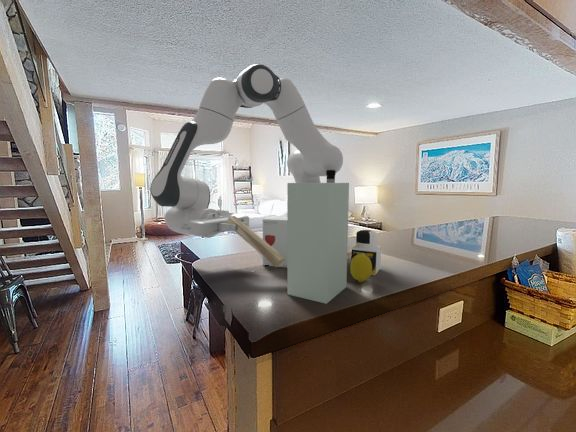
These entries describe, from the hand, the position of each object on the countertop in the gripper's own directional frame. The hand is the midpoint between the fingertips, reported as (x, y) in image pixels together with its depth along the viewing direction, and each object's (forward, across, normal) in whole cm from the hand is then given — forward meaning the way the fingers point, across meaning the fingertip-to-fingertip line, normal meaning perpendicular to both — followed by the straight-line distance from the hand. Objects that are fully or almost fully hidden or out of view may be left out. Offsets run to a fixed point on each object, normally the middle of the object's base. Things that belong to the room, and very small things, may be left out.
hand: (240, 226), depth 82 cm
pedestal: (+24, 0, +14) cm, 28 cm away
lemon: (+31, +11, +14) cm, 36 cm away
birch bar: (+4, 0, +4) cm, 6 cm away
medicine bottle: (+29, +22, +14) cm, 39 cm away
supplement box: (+3, +15, +14) cm, 21 cm away
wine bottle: (+15, +27, +14) cm, 34 cm away
